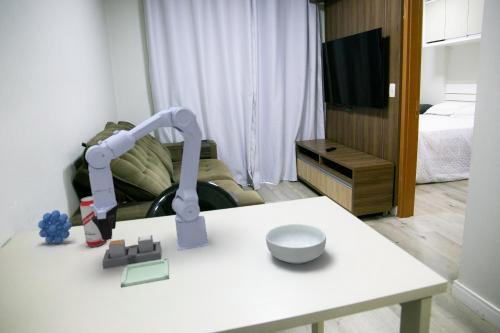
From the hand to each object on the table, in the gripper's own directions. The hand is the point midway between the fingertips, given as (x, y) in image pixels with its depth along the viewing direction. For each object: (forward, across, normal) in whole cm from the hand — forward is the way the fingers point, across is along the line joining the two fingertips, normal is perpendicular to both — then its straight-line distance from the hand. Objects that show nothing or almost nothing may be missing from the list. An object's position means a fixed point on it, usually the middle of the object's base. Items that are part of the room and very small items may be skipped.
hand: (109, 233), depth 98 cm
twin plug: (+10, -2, +9) cm, 14 cm away
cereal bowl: (+10, +14, +52) cm, 54 cm away
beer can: (+10, -18, -8) cm, 22 cm away
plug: (+10, -2, +1) cm, 10 cm away
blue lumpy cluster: (+10, -24, -21) cm, 33 cm away
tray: (+10, +9, +9) cm, 16 cm away
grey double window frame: (+10, -2, +5) cm, 11 cm away
